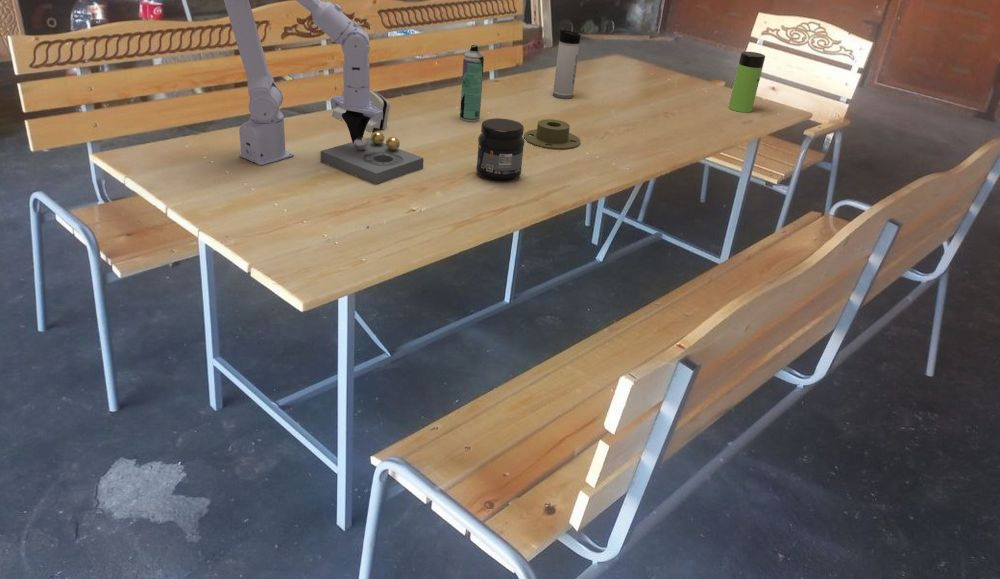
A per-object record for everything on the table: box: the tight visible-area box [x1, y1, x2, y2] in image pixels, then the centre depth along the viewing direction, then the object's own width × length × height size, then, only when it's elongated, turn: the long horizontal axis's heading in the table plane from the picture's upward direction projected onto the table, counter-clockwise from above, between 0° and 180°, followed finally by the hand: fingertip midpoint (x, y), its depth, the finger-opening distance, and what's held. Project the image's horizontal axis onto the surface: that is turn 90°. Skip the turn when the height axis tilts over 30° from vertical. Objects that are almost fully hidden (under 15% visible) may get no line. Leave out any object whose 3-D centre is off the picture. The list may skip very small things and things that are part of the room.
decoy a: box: [370, 130, 385, 145], centre depth 183 cm, size 3×3×3 cm
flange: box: [523, 118, 581, 151], centre depth 205 cm, size 5×15×15 cm
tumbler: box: [728, 51, 766, 113], centre depth 244 cm, size 8×8×17 cm
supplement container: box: [475, 117, 525, 183], centre depth 178 cm, size 10×10×12 cm
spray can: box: [459, 44, 485, 123], centre depth 210 cm, size 6×6×20 cm
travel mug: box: [552, 29, 581, 100], centre depth 239 cm, size 6×7×20 cm
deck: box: [319, 137, 424, 185], centre depth 179 cm, size 18×15×2 cm
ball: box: [354, 136, 368, 151], centre depth 179 cm, size 3×3×3 cm
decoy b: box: [385, 136, 401, 151], centre depth 181 cm, size 3×3×3 cm
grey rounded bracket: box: [331, 89, 391, 134], centre depth 204 cm, size 17×5×10 cm, turn 48°
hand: (357, 143), depth 180 cm, fingers closed, pressing on ball
